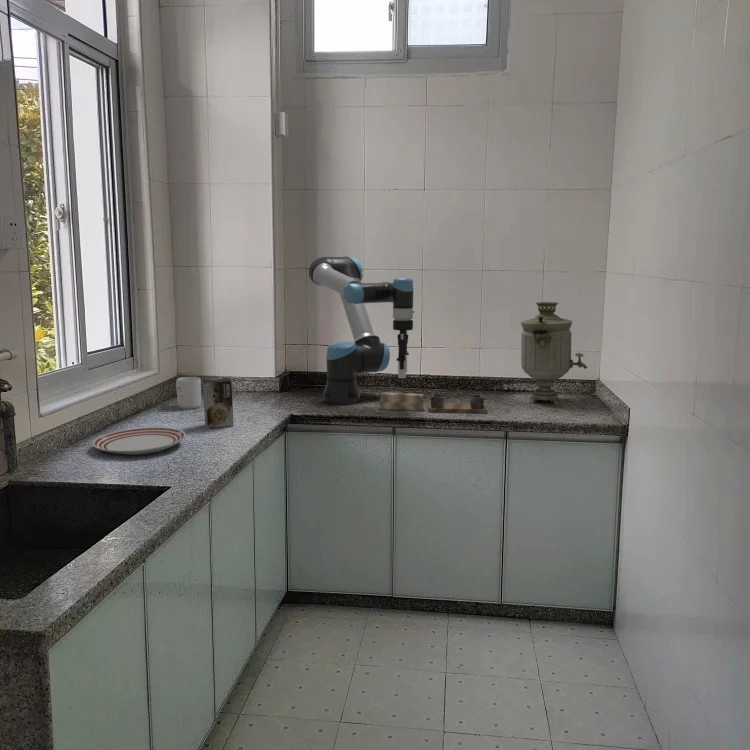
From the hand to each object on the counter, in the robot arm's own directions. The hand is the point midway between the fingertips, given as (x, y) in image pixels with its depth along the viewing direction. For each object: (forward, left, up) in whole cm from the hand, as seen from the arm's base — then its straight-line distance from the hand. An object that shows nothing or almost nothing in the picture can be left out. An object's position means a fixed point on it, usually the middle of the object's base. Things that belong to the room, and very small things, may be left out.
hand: (402, 375), depth 274 cm
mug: (-83, -5, -13) cm, 84 cm away
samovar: (+59, +18, -13) cm, 63 cm away
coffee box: (-62, -33, -13) cm, 72 cm away
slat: (0, 0, -13) cm, 13 cm away
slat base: (+21, 0, -13) cm, 25 cm away
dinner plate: (-78, -62, -14) cm, 101 cm away
